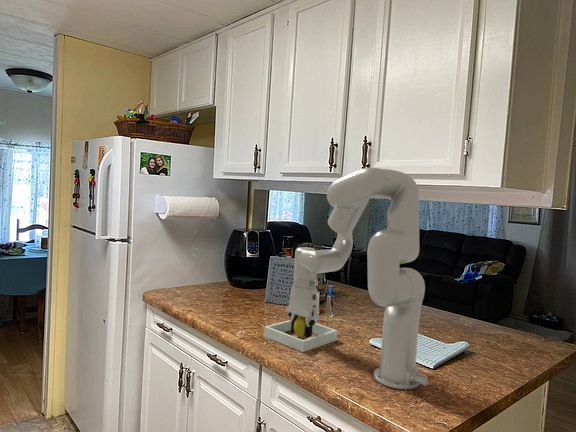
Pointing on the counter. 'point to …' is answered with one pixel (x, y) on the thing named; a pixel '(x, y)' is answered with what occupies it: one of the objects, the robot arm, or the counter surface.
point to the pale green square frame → (276, 334)
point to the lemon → (300, 327)
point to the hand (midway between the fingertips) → (301, 334)
